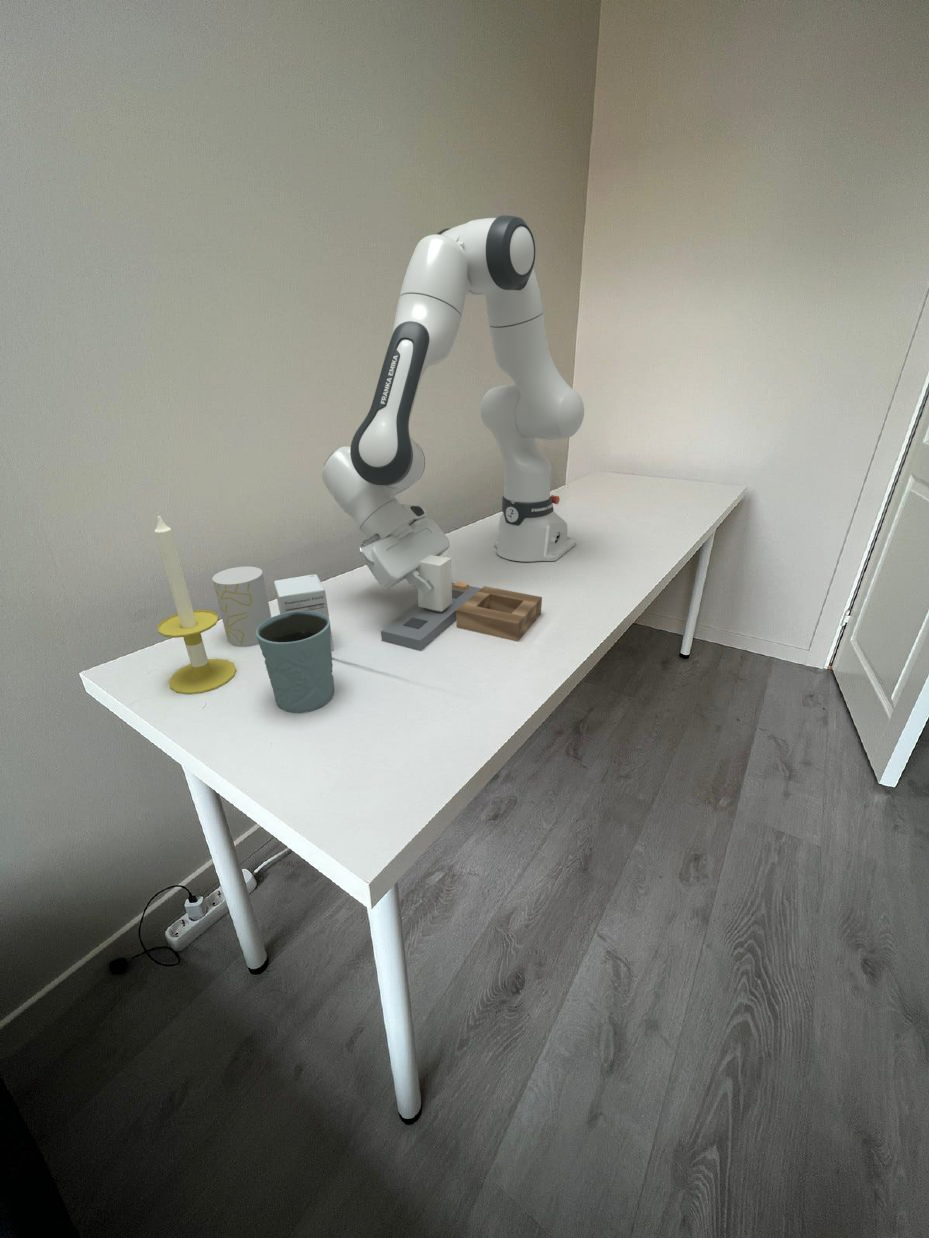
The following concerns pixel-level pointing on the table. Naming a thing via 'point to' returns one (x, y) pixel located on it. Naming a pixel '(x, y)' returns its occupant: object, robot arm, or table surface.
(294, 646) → the teal plant pot
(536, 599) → the square wooden tray
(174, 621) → the candle
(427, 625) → the power strip
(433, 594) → the white rectangular block
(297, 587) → the supplement box
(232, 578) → the cup
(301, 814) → the table surface
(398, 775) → the table surface
